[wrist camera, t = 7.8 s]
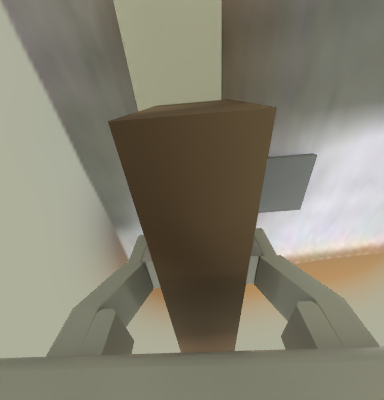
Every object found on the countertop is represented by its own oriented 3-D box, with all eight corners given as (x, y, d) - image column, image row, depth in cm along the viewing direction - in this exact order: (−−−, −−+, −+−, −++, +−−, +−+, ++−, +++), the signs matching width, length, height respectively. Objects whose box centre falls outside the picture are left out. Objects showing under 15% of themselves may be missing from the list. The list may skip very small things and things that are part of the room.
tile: (217, 114, 16) (216, -10, 12) (221, 115, 14) (221, -29, 10) (145, 121, 16) (120, 0, 12) (140, 123, 14) (109, -17, 10)
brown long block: (227, 99, 6) (276, 106, 3) (221, 279, 13) (233, 356, 9) (156, 105, 7) (108, 121, 3) (185, 280, 13) (182, 357, 9)
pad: (313, 153, 18) (317, 155, 18) (297, 206, 22) (300, 209, 21) (204, 162, 18) (204, 164, 18) (205, 214, 22) (206, 216, 21)
